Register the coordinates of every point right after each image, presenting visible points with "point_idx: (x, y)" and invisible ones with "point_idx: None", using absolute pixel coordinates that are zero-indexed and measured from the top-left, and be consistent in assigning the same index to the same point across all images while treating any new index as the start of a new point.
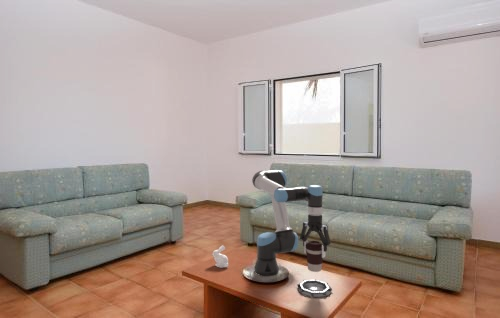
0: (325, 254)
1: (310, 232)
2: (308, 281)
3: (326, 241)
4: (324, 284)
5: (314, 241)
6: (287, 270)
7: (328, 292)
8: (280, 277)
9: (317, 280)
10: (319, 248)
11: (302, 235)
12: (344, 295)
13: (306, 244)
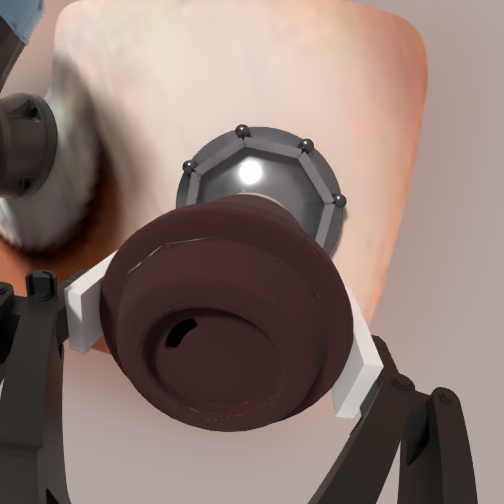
0: (353, 296)
1: (51, 443)
2: (211, 169)
3: (408, 468)
4: (298, 160)
5: (177, 308)
6: (79, 77)
7: (334, 232)
8: (79, 165)
9: (253, 142)
10: (304, 408)
11: (1, 378)
12: (398, 205)
13: (114, 349)
